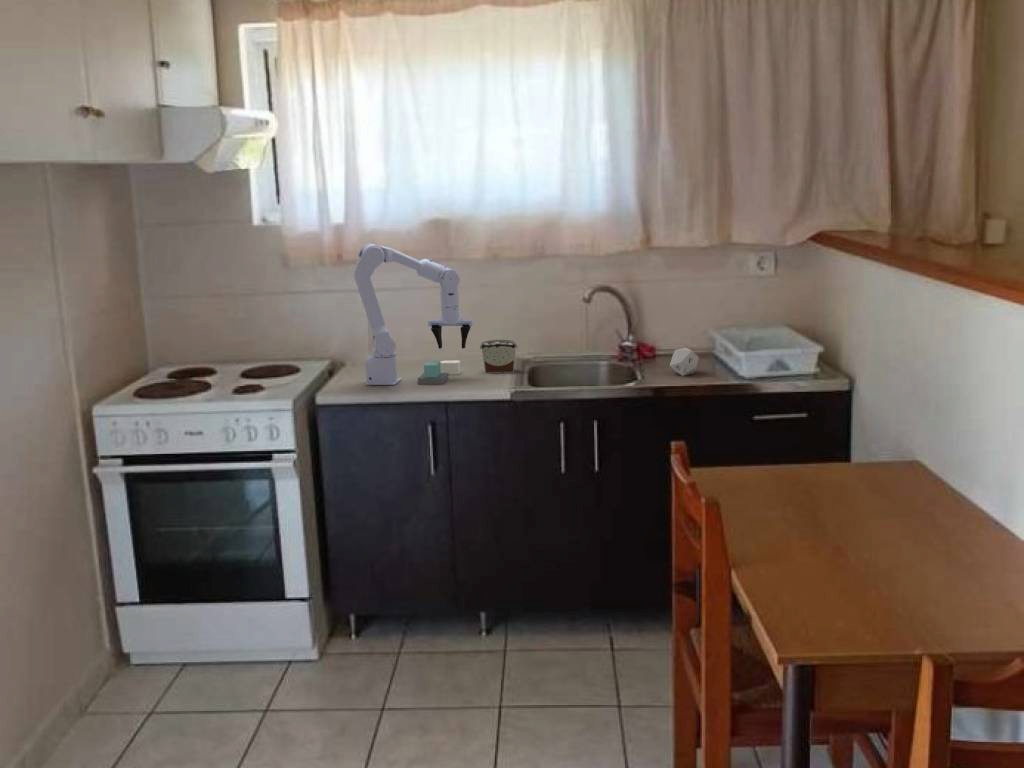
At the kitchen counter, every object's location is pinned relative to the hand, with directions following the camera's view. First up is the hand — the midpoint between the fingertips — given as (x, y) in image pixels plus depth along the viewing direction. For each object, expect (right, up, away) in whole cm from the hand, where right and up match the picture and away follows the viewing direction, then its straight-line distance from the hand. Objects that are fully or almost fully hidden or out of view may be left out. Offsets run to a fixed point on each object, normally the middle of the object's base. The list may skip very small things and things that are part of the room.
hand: (452, 348), depth 329 cm
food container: (+16, -7, +9) cm, 19 cm away
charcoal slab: (-6, -11, -4) cm, 13 cm away
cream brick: (-1, -8, +7) cm, 11 cm away
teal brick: (-6, -9, -4) cm, 12 cm away
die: (+74, -9, -5) cm, 75 cm away
